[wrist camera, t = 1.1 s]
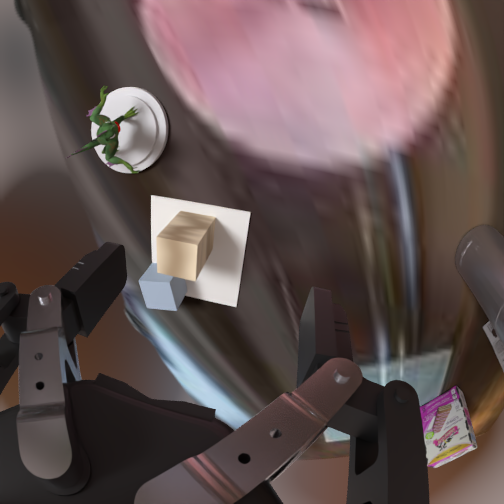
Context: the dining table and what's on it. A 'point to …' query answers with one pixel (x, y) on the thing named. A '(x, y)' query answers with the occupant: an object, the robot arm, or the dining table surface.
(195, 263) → the birch block
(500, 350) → the coffee box
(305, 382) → the robot arm
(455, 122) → the dining table surface
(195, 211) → the white mat
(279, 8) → the dining table surface
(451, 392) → the candy bar box
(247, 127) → the dining table surface
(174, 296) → the slate cube
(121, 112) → the monster figurine
